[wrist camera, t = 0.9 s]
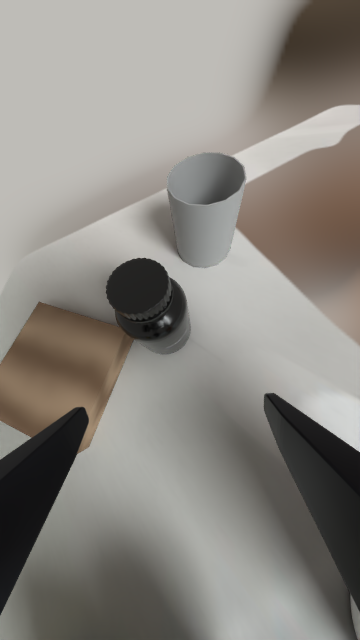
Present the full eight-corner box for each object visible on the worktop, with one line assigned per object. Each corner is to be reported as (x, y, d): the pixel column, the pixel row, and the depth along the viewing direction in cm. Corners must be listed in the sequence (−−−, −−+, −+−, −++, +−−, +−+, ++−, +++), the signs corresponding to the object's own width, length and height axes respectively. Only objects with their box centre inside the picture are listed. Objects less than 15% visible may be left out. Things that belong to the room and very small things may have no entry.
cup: (167, 252, 28) (151, 187, 18) (197, 219, 29) (196, 145, 20) (210, 277, 25) (216, 217, 16) (240, 240, 27) (262, 166, 18)
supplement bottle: (185, 359, 22) (170, 339, 11) (136, 349, 23) (75, 321, 12) (195, 311, 24) (191, 250, 13) (150, 304, 25) (108, 242, 14)
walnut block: (88, 446, 20) (70, 458, 17) (2, 403, 23) (-27, 406, 20) (135, 335, 24) (126, 329, 21) (56, 310, 27) (39, 301, 24)
